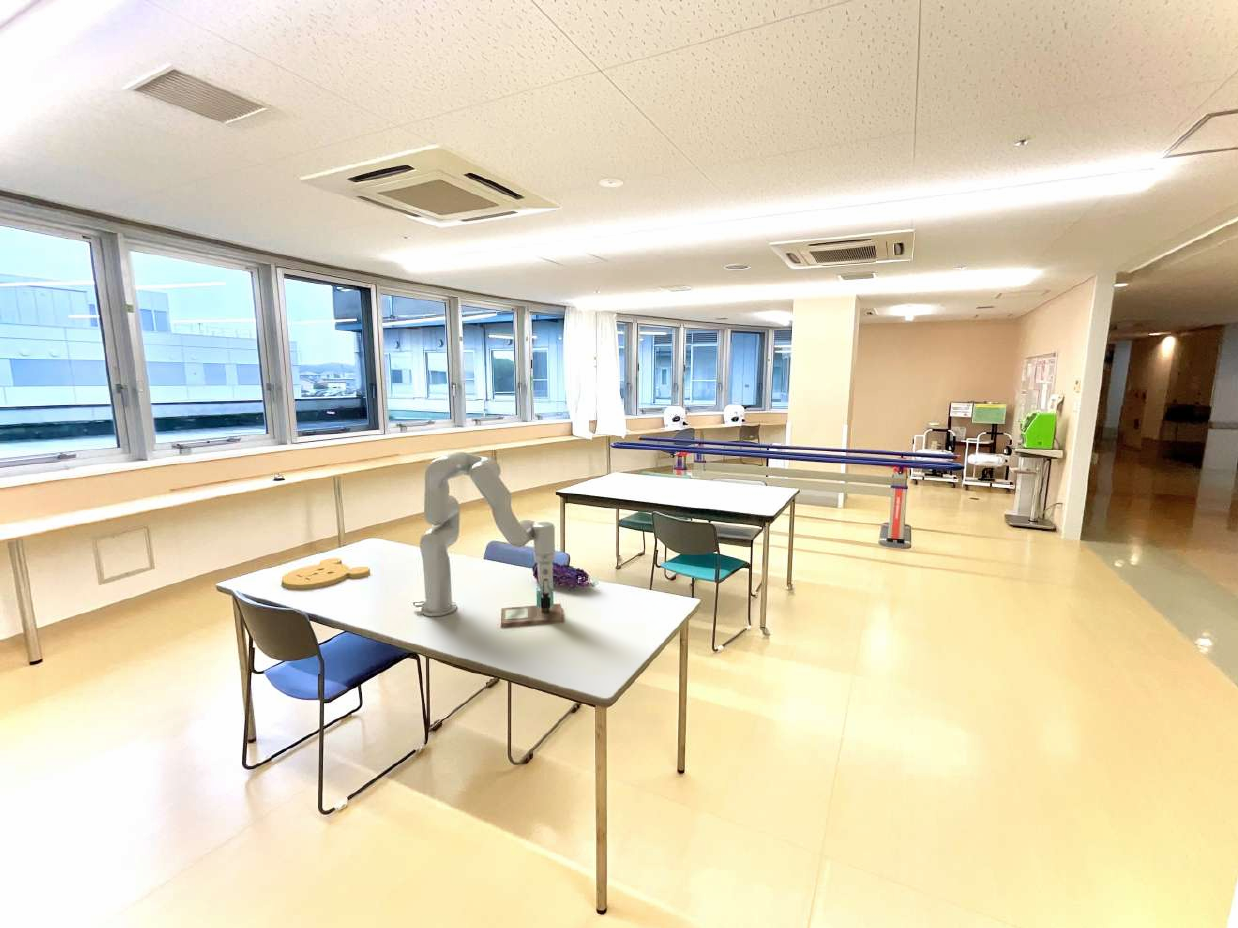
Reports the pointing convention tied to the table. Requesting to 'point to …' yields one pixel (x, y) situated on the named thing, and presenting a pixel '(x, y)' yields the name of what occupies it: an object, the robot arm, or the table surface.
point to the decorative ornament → (567, 576)
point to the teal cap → (539, 595)
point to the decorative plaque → (322, 575)
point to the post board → (531, 615)
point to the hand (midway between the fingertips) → (545, 603)
